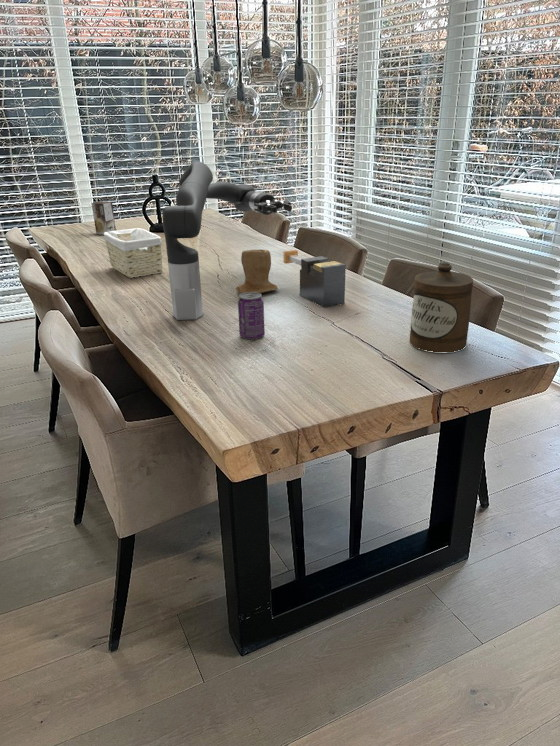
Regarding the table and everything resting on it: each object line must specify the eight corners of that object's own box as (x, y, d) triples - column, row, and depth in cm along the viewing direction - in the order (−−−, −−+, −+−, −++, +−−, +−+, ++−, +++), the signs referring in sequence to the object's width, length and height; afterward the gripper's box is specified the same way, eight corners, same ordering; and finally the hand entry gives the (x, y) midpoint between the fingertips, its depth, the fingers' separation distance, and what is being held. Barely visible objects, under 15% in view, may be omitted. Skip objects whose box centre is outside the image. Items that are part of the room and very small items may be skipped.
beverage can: (251, 330, 167) (249, 290, 162) (269, 335, 162) (268, 294, 157) (234, 337, 162) (232, 296, 157) (253, 342, 158) (251, 300, 152)
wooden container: (398, 344, 155) (404, 263, 146) (428, 329, 164) (436, 253, 155) (447, 358, 145) (457, 273, 136) (476, 343, 154) (487, 262, 145)
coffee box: (117, 233, 303) (112, 201, 296) (107, 235, 298) (103, 203, 291) (105, 231, 308) (100, 200, 301) (95, 233, 303) (90, 202, 296)
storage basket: (166, 273, 227) (162, 236, 220) (127, 280, 219) (122, 241, 212) (144, 262, 245) (140, 227, 239) (107, 267, 237) (101, 231, 231)
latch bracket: (299, 295, 196) (299, 257, 191) (319, 291, 200) (320, 254, 194) (323, 307, 184) (324, 267, 178) (344, 303, 187) (345, 264, 182)
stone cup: (264, 284, 209) (263, 243, 203) (282, 292, 200) (281, 249, 194) (227, 291, 202) (225, 249, 196) (244, 300, 193) (242, 255, 187)
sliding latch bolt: (283, 262, 205) (283, 251, 204) (295, 260, 207) (295, 249, 206) (308, 273, 191) (308, 261, 190) (320, 271, 193) (321, 259, 192)
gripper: (244, 194, 212) (264, 199, 198) (279, 191, 218) (301, 196, 204) (245, 215, 215) (265, 221, 201) (279, 211, 221) (301, 218, 207)
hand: (283, 209), depth 202 cm, fingers open, 5 cm apart
